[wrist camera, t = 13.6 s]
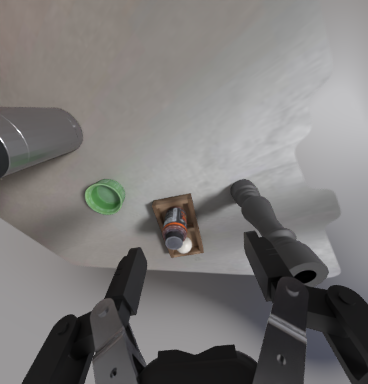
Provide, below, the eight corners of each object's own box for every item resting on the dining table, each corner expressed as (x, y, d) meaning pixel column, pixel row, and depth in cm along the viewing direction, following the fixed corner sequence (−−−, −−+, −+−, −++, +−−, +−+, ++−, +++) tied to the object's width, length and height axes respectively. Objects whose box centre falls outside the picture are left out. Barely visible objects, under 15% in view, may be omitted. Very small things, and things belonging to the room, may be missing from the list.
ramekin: (88, 193, 43) (78, 202, 40) (103, 170, 40) (94, 176, 36) (117, 211, 46) (111, 220, 42) (133, 190, 43) (128, 198, 39)
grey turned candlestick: (228, 199, 44) (273, 290, 22) (232, 178, 41) (289, 259, 19) (250, 200, 44) (317, 292, 22) (256, 179, 41) (340, 261, 19)
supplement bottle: (190, 217, 46) (192, 247, 36) (172, 225, 47) (169, 256, 37) (180, 201, 43) (178, 230, 33) (161, 210, 45) (155, 240, 35)
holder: (171, 250, 53) (171, 257, 51) (153, 200, 44) (151, 206, 41) (202, 245, 52) (203, 252, 49) (190, 193, 43) (191, 198, 40)
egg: (177, 245, 51) (177, 258, 46) (173, 233, 49) (172, 246, 44) (193, 243, 50) (193, 256, 46) (189, 231, 48) (190, 243, 44)
